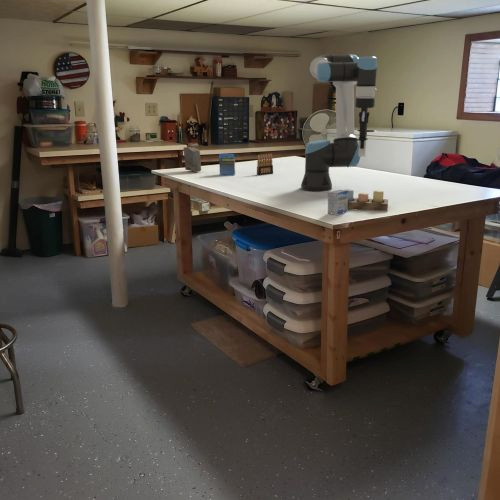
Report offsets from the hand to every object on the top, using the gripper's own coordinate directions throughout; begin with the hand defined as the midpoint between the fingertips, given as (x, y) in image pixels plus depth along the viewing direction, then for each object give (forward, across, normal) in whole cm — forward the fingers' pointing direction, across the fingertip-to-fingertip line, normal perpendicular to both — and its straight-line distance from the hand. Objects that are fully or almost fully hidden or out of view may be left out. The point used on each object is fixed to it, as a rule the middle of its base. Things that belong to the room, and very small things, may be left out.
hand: (361, 156), depth 216 cm
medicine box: (+20, -21, +7) cm, 29 cm away
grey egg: (+18, -9, +4) cm, 21 cm away
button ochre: (+18, -9, -8) cm, 22 cm away
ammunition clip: (+24, +69, +59) cm, 93 cm away
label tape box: (+24, +63, +80) cm, 104 cm away
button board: (+20, -9, -2) cm, 22 cm away
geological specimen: (+24, +68, +104) cm, 127 cm away
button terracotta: (+19, -9, -2) cm, 21 cm away
